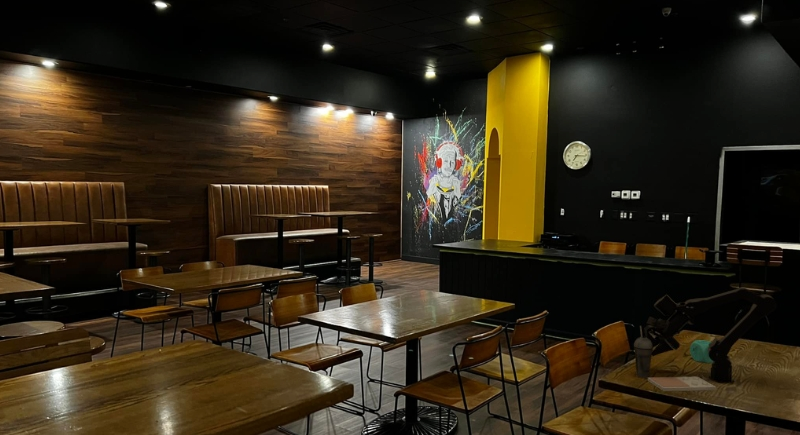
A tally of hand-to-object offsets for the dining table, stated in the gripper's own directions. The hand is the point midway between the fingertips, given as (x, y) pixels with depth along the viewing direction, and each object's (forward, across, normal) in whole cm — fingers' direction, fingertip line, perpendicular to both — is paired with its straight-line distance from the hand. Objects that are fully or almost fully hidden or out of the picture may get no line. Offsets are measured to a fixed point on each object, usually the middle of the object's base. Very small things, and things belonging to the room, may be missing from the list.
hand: (646, 351), depth 231 cm
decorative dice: (-18, -20, +32) cm, 42 cm away
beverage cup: (+8, 0, +6) cm, 10 cm away
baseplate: (+1, +12, +12) cm, 17 cm away
